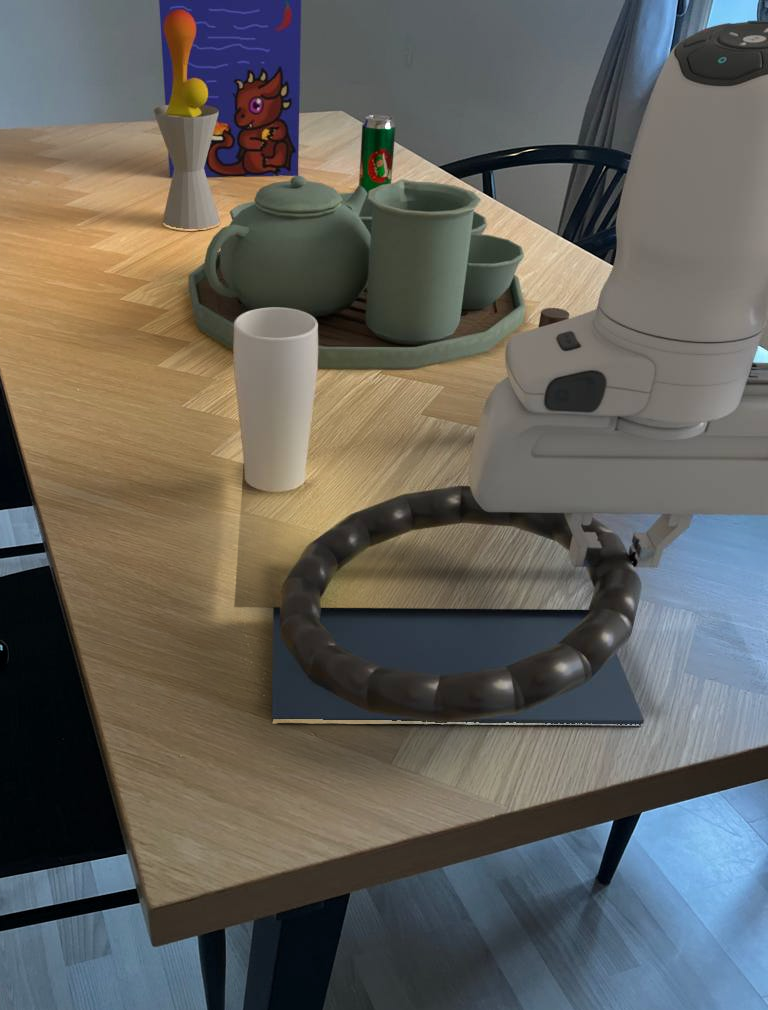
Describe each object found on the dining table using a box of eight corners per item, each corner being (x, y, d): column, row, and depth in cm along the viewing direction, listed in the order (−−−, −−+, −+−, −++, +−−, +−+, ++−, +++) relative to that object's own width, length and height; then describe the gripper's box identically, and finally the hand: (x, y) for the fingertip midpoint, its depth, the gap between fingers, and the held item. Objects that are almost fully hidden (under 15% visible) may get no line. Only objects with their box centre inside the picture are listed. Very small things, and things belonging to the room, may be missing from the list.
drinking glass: (229, 505, 84) (224, 335, 74) (244, 467, 89) (241, 303, 79) (307, 513, 83) (312, 342, 73) (318, 473, 88) (324, 309, 78)
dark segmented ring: (588, 490, 74) (589, 458, 73) (686, 702, 56) (690, 666, 54) (284, 536, 77) (278, 506, 75) (283, 752, 59) (275, 719, 57)
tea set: (568, 297, 123) (596, 155, 113) (421, 416, 97) (440, 246, 87) (303, 239, 140) (306, 110, 129) (117, 327, 114) (102, 175, 103)
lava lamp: (151, 228, 143) (129, -67, 121) (175, 211, 150) (159, -71, 128) (208, 234, 141) (197, -64, 119) (230, 217, 148) (224, -69, 125)
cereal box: (294, 166, 171) (297, -42, 152) (298, 175, 166) (301, -38, 148) (169, 168, 169) (156, -43, 150) (169, 177, 164) (156, -39, 145)
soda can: (365, 195, 157) (370, 112, 150) (394, 200, 156) (401, 116, 148) (352, 203, 154) (357, 119, 146) (382, 208, 152) (388, 122, 145)
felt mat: (586, 589, 75) (588, 583, 74) (642, 727, 63) (644, 720, 63) (273, 587, 75) (273, 580, 74) (271, 724, 63) (271, 717, 63)
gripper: (824, 342, 58) (751, 537, 67) (481, 337, 58) (452, 534, 67) (873, 388, 53) (787, 592, 62) (499, 383, 53) (465, 589, 62)
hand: (611, 562), depth 64 cm, fingers closed on dark segmented ring, 2 cm apart
